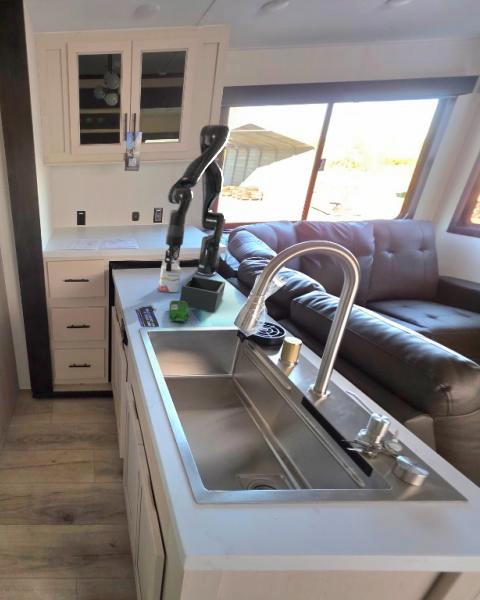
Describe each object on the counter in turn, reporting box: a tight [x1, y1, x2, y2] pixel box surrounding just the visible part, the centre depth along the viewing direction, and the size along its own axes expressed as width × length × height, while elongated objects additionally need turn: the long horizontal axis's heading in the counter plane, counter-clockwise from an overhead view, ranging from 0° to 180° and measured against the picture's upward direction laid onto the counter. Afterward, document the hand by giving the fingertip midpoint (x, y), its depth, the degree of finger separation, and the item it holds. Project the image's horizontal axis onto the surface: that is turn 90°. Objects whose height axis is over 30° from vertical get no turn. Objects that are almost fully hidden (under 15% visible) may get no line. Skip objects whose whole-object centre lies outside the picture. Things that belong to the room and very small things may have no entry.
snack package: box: [168, 300, 189, 322], centre depth 125 cm, size 7×16×5 cm, turn 165°
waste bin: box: [179, 275, 226, 314], centre depth 138 cm, size 16×15×9 cm
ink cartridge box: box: [158, 259, 182, 293], centre depth 150 cm, size 9×5×15 cm, turn 84°
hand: (170, 269), depth 148 cm, fingers closed on ink cartridge box, 6 cm apart
